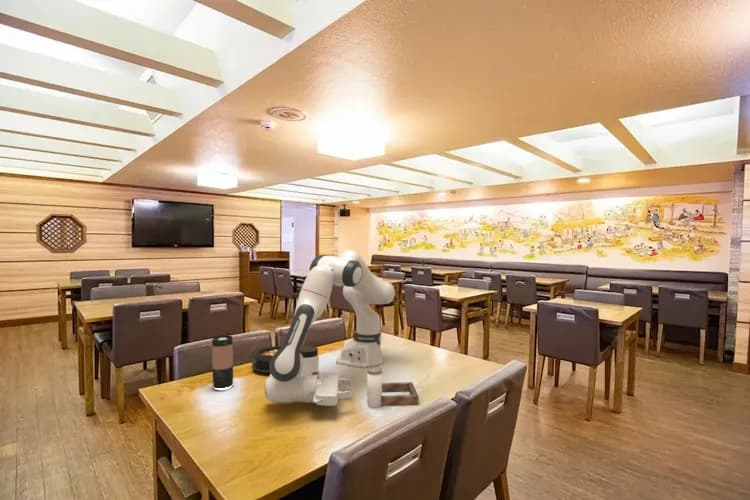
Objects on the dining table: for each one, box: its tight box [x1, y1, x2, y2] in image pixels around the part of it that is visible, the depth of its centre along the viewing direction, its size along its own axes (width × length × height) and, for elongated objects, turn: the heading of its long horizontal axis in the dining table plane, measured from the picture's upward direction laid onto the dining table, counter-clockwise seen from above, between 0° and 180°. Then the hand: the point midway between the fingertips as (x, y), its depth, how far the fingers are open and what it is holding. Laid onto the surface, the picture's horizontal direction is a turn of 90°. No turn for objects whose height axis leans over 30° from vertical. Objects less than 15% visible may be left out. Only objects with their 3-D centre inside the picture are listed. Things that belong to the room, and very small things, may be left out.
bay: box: [381, 381, 420, 407], centre depth 139 cm, size 13×13×3 cm
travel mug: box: [211, 334, 234, 388], centre depth 147 cm, size 8×8×20 cm
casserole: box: [251, 345, 282, 374], centre depth 168 cm, size 25×19×8 cm
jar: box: [300, 345, 320, 376], centre depth 159 cm, size 9×8×12 cm
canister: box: [366, 365, 383, 409], centre depth 132 cm, size 5×5×13 cm
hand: (351, 387), depth 132 cm, fingers open, 8 cm apart
